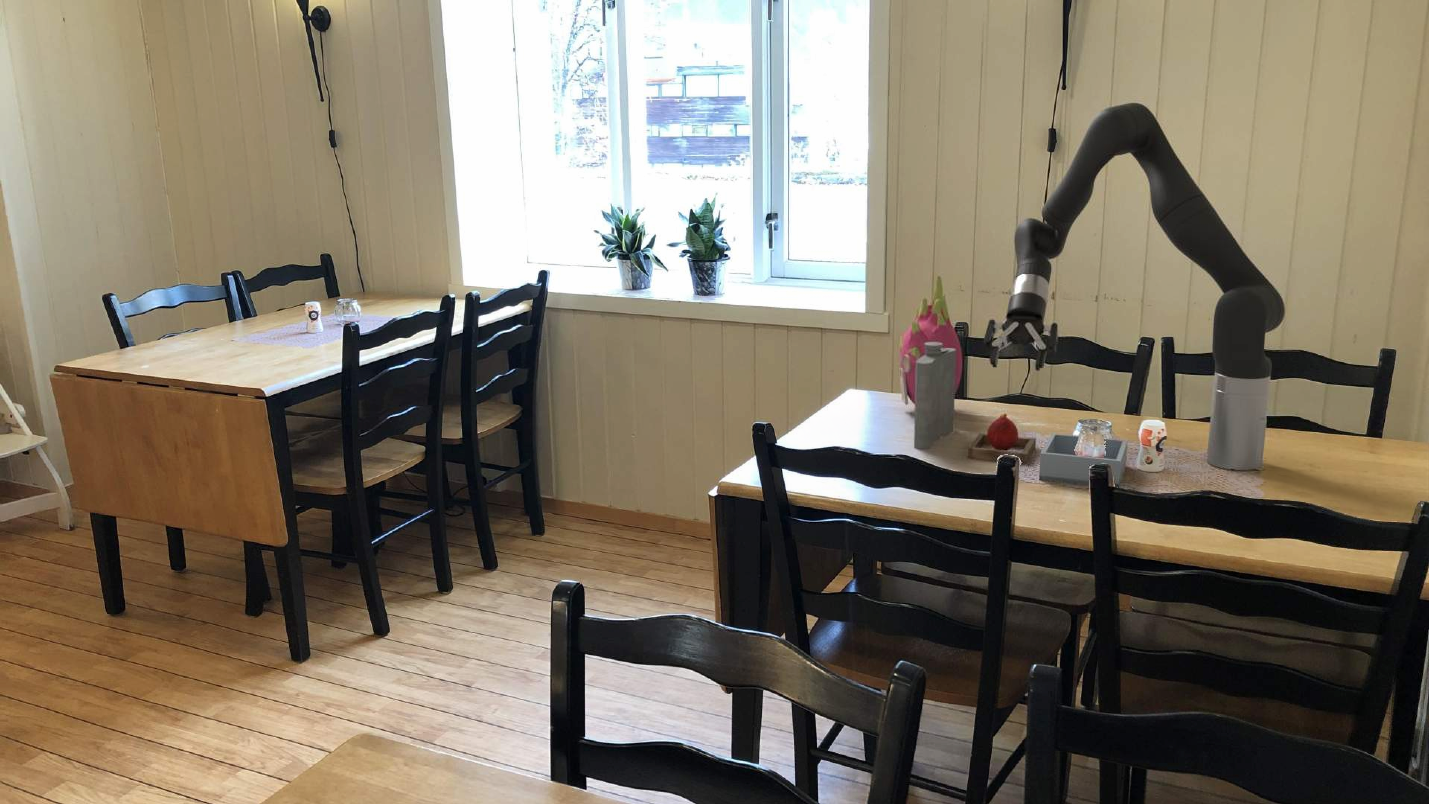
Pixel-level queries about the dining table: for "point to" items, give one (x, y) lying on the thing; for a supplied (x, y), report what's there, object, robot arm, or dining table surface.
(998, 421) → the onion
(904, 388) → the pink dragon fruit
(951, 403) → the hip flask
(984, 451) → the tray
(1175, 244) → the robot arm
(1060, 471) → the bin
